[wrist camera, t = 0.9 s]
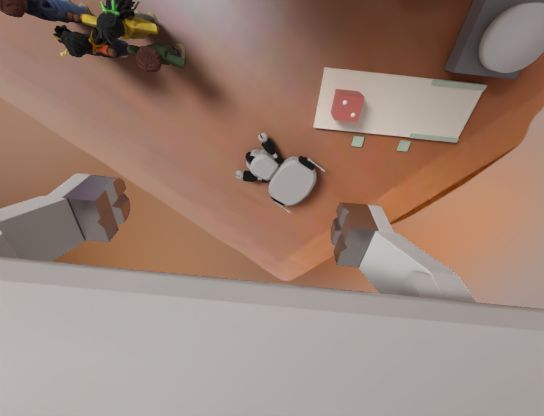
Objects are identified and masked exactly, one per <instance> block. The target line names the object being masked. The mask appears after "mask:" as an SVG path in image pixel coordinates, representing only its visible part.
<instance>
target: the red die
mask: <svg viewBox="0 0 544 416" xmlns="http://www.w3.org/2000/svg"><path fill="white" fill-rule="evenodd" d="M364 99H365V97H364V96H363V95H362V94H361V93H360V92H359V91H351V90H342V89H336V90H335V95H334V100H333V104H332V109H331V115H332V117H333V119H334V120H339V121H349V122H358V120H359V116H360V113H361V109H362V106H363V102H364Z"/></svg>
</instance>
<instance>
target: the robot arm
mask: <svg viewBox="0 0 544 416" xmlns="http://www.w3.org/2000/svg"><path fill="white" fill-rule="evenodd" d="M125 190H126V186H125V183H124V181H123V180H122V179H121V178H115V177H107V176H99V175H92V174H81V173H79V174H75V175H73V176H72V177H71V178H69V179H68V180H67V181H66V182H64V183H63V184H62V185H60V186H59V187H58V188H57V189H55V190H54V191H52V192H51V193H50V194H49V195H47V196H40V197H36V198H33V199H30V200H27V201H24V202H21V203H18V204H14V205H11V206H8V207H4V208H1V209H0V416H544V309H538V308H529V307H518V306H506V305H497V304H487V303H477V302H475V300H474V299H473V297H472V296H471V294H470V293H469V291H468V289H467V288H466V286H465V285H464V283H463V282H462V281H461V279H460V277H459V276H458V275H457V274H456V273H454V272H453V271H451V270H450V269H448V268H447V267H445V266H444V265H443V264H441V263H440V262H439V261H437V260H436V259H434V258H432V257H431V256H430V255H429V254H427V253H426V252H424V251H423V250H421V249H420V248H419V247H417V246H416V245H414V244H413V243H412V242H410V241H409V240H407V239H406V238H404V237H403V236H402V235H400V234H399V233H394V231H393V229H392V227H391V225H390V223H389V221H388V219H387V217H386V215H385V213H384V211H383V209H382V208H381V206H379V205H368V204H366V205H365V204H354V203H342V202H340V203H339V205H338V207H337V210H336V212H337V216H338V217H337V218H335V219H334V220H333V223H332V227H331V242H332V244H333V245H334V246H335V249H334V256H335V261H336V265H342V266H350V267H357V268H359V270H360V271H361V272H362V273H363V274H364V275H365V276H366V278H367V279H368V280H369V281H370V282H371V284H372V285H373V286H374V287H375V288H376V289H377V290H378V292H379V293H373V292H363V291H352V290H340V289H331V288H320V287H310V286H300V285H289V284H279V283H268V282H259V281H248V280H238V279H228V278H217V277H206V276H197V275H186V274H175V273H165V272H153V271H144V270H133V269H122V268H113V267H102V266H93V265H82V264H72V263H62V262H51V261H53V260H55V259H56V258H58V257H60V256H61V255H63V254H64V253H66V252H68V251H70V250H71V249H73V248H75V247H76V246H78V245H80V244H81V243H83V242H85V240H87V241H100V242H109V241H110V240H111V239H112V238H113V236H114V235H115V234H116V233H117V231H118V226H117V225H119V224H121V223H123V222H125V221H126V219H127V218H128V215H129V212H130V201H129V198H128V197H127V196H126V195H125V194H124V191H125Z"/></svg>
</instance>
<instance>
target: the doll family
mask: <svg viewBox="0 0 544 416" xmlns="http://www.w3.org/2000/svg"><path fill="white" fill-rule="evenodd" d="M103 3H104V2H100V4H101V6H102V9H103V13H101V14H100V15H99V17H94V16H91V14H90V11H89V9H88V7H87V6H86V5H85V4H83V3H80V4H79V5H78V6H77V5H75V4H73V3H71V1H70V0H0V11H2V12H3V13H5V14H7V15H9V16H14V17H22V16H23V15H24V13H27V14H30V15H33V16H36V17H38V18H41V19H44V20H48V21H61V22H65V23H68V22H75V23H78V24H79V23H81V22H82V23H83V24H85V25H90V26H93V27H92V31H91V33H90V34H81V33H79V32H71V31H70V30H69V29H67V27H66V26H65V25H63V26H62V27H60V26H56V28H55V32H56V33H55V34H53V35H55V36H54V37H55V38H56V39H58V41H59V42H60V43H63V44H64V45H65V46H66V49H65V51H64V52H62V53H60V54H61V56H62V55H65V54H66V53H67V51H69V54H70V55H72V56H75V57H82V55H85V54H90V55H96V56H103V57H108V58H117V57H122V58H126V57H128V55H129V54H131V55H135V56H136V57H135V58H136V61H137V65H138V66H139V67H140V68H142V70H145V71H147V72H157V71H158V70H159V69H160V67H161V64H166V65H169V64H172V65H175V66H178V67H180V68H184V66H185V65H186V61H185V47H184V45H183V44H181V43H177V44H176V46H175V47H171V46H169V45H165V44H160V43H155V44H151V45H147V46H141V47H138V46H134V45H128V43H126V42H125V41H123V40H122V39H120V38H119V37H120V36H122V37H123V38H124V39H129V38H132V39H144V38H145V37H146V36H147V35H149V34H156V35H157V34H158V32H159V25H158V22H157V19H156V16H155V15H154V14H153V13H151V12H150V13H147V14H140V12H139V11H137V10H135V9H136V8H137V5H138V4H139V2H137V4H136V6H135V7H134V9H131V7H133V5H134V3H135V2H132V0H106V7H105V6H104V4H103ZM96 27H97V29H96Z"/></svg>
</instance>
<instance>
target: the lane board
mask: <svg viewBox="0 0 544 416" xmlns="http://www.w3.org/2000/svg"><path fill="white" fill-rule="evenodd" d="M486 87H487V85H485V84H479V83H470V82H461V81H451V80H442V79H433V78H423V77H414V76H405V75H395V74H386V73H377V72H367V71H358V70H349V69H339V68H330V67H324V71H323V77H322V82H321V88H320V93H319V98H318V104H317V109H316V115H315V120H314V125H313V127H314V128H322V129H331V130H341V131H351V132H361V133H371V134H381V135H391V136H401V137H409V138H415V139H425V140H435V141H445V142H455V143H457V142H458V140H459V138H458V137H459V136H460V134H461V132H462V130H463V128H464V126H465V124H466V122H467V120H468V119H469V117H470V115H471V113H472V111H473V109H474V107H475V105H476V103H477V102H478V100H479V98H480V96H481V94H482V92H483V90H484V91H485V89H486ZM336 89H342V90H351V91H359V92H360V93H361V94H362V95H363V96H364V97H365V99H364V102H363V106H362V109H361V113H360V116H359V120H358V122H349V121H339V120H334V119H333V117H332V115H331V109H332V104H333V100H334V95H335V90H336ZM364 138H365V137H363V136H354V137H353V141H352V144H351V146H356V147H362V144H363V141H364ZM410 143H411V141H403V140H400V142H399V145H398V147H397V151H406V152H407V151H408V148H409V146H410Z"/></svg>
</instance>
